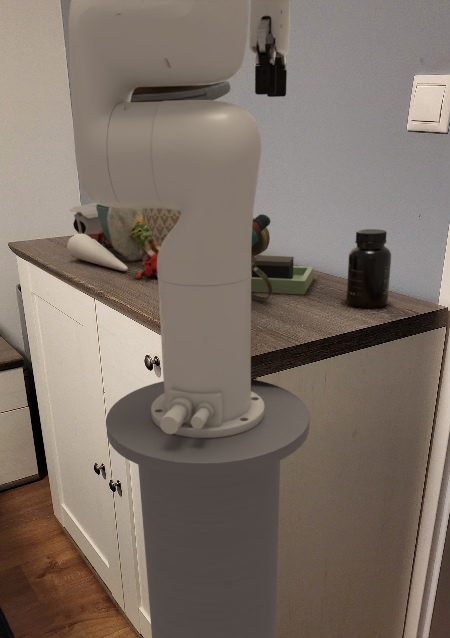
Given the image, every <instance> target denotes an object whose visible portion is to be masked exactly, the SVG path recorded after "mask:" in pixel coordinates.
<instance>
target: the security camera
mask: <svg viewBox="0 0 450 638" xmlns="http://www.w3.org/2000/svg"><path fill="white" fill-rule="evenodd" d="M96 205H97V203H95V202H93V203H88V204H81V205H75V206H73V207H71V208H69V211H70V212H71V213H75V214H74V215H73V217H74V221H73V223H72V224H73V228H74V230H75V232H77V234H99V232H100V231H101V230H102V228H101V226H100V223H99V219H98V212H97V210H96Z"/></svg>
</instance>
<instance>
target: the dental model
mask: <svg viewBox="0 0 450 638" xmlns="http://www.w3.org/2000/svg"><path fill="white" fill-rule="evenodd" d="M86 235H88V236H89V237H90V238H92V239H95V240H96V241H97V242H98V243H100V244H101V245H102V246H104V247H108V248H109V247H110V248H111V247H113V245H112V244H111V243H110V241H109V240H108V239H107V237H106V236H105V234H104V233H103V231H102V230H101V231H100V232H99V234H86Z"/></svg>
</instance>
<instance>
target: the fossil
mask: <svg viewBox="0 0 450 638" xmlns="http://www.w3.org/2000/svg"><path fill="white" fill-rule="evenodd" d="M138 221H139V222H141V223H143V217H142V208H113V207H109V211H108V215H107V224H108V229H109V234H110V238H111V241H112V248H113V247H114V248H113V250H114V249H115V250H116V251H115V250H114V251H115V252H117V253H118V254H119V255H121V256H122V257H123V258H124V259H126V260H128V261H130V262H132V263H133V262H137V261H142V259H141V256H140V251H139V249H138V244H137V241H136V239H134V238H133V237H132V231H131V229H132V227H133V226H134V225H135V223H136V222H138Z"/></svg>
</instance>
